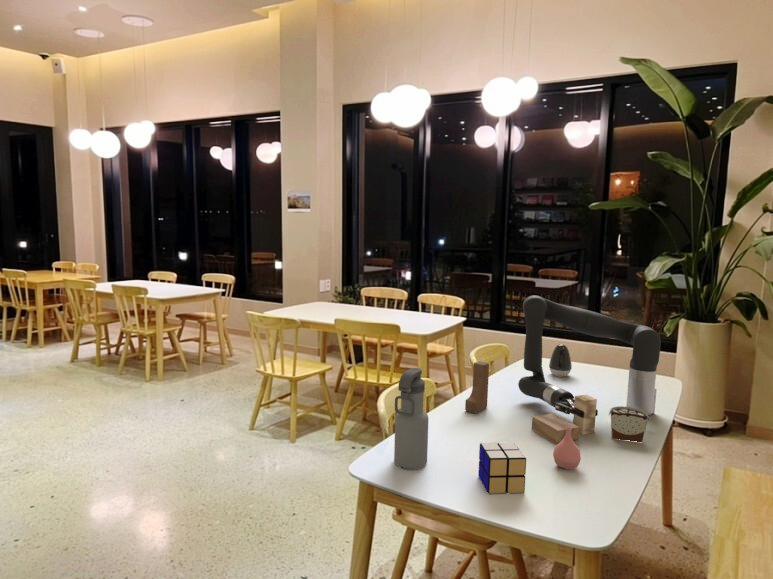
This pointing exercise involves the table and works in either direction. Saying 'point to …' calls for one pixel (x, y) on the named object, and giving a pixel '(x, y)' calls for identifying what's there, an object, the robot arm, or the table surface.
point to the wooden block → (478, 388)
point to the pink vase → (567, 452)
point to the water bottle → (411, 422)
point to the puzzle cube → (502, 468)
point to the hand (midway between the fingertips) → (590, 414)
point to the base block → (554, 427)
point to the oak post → (585, 413)
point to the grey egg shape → (560, 361)
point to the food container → (628, 423)
